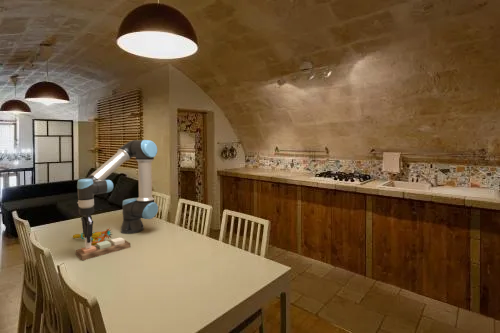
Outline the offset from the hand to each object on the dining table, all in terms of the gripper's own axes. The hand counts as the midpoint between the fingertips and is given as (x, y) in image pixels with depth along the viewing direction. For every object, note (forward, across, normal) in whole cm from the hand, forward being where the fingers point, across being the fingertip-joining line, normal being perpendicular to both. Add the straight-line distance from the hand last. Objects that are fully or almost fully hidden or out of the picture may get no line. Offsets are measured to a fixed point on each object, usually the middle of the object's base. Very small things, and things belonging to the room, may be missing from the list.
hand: (88, 247), depth 159 cm
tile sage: (+2, 0, +8) cm, 8 cm away
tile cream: (+2, 0, +16) cm, 16 cm away
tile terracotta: (+3, 0, 0) cm, 3 cm away
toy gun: (+4, -20, +5) cm, 21 cm away
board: (+4, 0, +8) cm, 9 cm away
